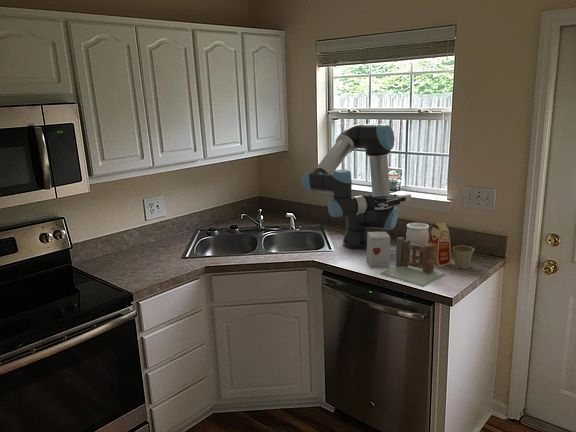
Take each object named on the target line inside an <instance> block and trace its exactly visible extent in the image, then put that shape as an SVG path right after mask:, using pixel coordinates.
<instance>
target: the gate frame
mask: <svg viewBox="0 0 576 432" xmlns="http://www.w3.org/2000/svg"><path fill="white" fill-rule="evenodd" d="M404 240H405V237H402V236H399V237H396V255H395V256H396V257H395V265H394V266H391V267H388V269H387V268H386V269H385V270H383V271H381V272H380V275H381V276H384V277H388V278H391V279H395V280H398V281H402V282H405V283H409V284H413V285H415V286H418V287H422V288H424V287H426V286H427V285H429V284H431V283H432V282H435V281H436V280H437V279H440V278H441V277H443V276H444V275H446V274H445V272H442V271H438V270H436V269H434V271H433V272H431V273H427V272H423V269H421V268H417V267H412V266H408V267H404V266H403V241H404ZM434 258H435V254H434Z"/></svg>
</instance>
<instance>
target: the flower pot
mask: <svg viewBox="0 0 576 432" xmlns="http://www.w3.org/2000/svg"><path fill="white" fill-rule="evenodd" d="M451 248H452V250H453V251H452V252H453V258H454V267H455V268H457V269H463V270H467V269H469V268H470V266H471V261H472V256H473V254H474V252H475V248H474V247H472V246H467V245H456V246H453V247H451Z"/></svg>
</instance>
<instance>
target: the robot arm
mask: <svg viewBox="0 0 576 432" xmlns="http://www.w3.org/2000/svg"><path fill="white" fill-rule="evenodd" d="M394 147H395V133H394V130H393V128H392V127H391V126H390V125H389V124H383V123H365V124H364V123H358V124H357V123H356V124H354V125H351V126H349V127H348V128H345V130H344V131H342V132H341V133H340V134H339V135H338V136H337V137H336V139H335V142H334V145H333V146H332V147H331V149H330V150H328V152H327V154H325V156H324V157H323V158H322V160H321V161H320V162H319V163H318V164H317V166H316V167H315V168H314V169H313V170H312V172H310V171H308V172H304V173H303V174H302V176H301V186H302V188H303V189H305V190H308V191H312V192H313V191H314V192H316V191H317V192H327V193H328V192H329V193H332V194H333V198H332V199H329V200H328V202H327V210H328V213H329V215H330V216H331V217H332V218H337V217H338V218H340V217H341V218H342V217H345V218H346V221H345V222H346V231H345V234H344V237H343V241H342V245H343V246H344V247H346V248H348V249H353V250H354V249H355V250H361V249H363V250H364V249H367V232H370V229H371V228H372V229H377V230H378V229H379V230H384V231H385V230H388V231H391V230H393V229H394V228H395V227H396V225H397V222H398V219H399V213H400V212H399V208H398V207H396V206H398V205H401V203H405V202H411V201H412V194H410V193H409V194H408V193H407V194H401V195H397V194H396V193H394V194H393V195H392V194H391V190H390V189H391V187H390V177H389V176H390V174H389V157H388V155H389V154H390V153H391V150H392V149H393V148H394ZM356 149H357V150H358V149H360V150H362V149H363V150H365V155H366V157H367V156H368V157H369V168H370V169H369V171H370V181H371V182H370V183H371V194H363V195H357V196H352V188H353V187H352V185H353V184H352V181H353V180H352V172H351V171H350V170H349V169H338V167H340V165H341V163H342V162H343V161H344V159H345V158H346V157H347V156H348V154H350V153H352V152H353V151H354V150H356Z"/></svg>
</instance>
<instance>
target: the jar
mask: <svg viewBox="0 0 576 432" xmlns="http://www.w3.org/2000/svg"><path fill="white" fill-rule="evenodd" d="M429 228H430V225H429V224H428V223H424V222H410V223H407V224H406V235H405V238H406V239H405V240H410V243H412V244H417V245H422V246H424V245H425V244H427V243H428V242H429V238H430V234H429ZM412 252H413V250H411V249H410V256H411V257H412ZM417 257H419V258H420V251H416V258H417Z"/></svg>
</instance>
